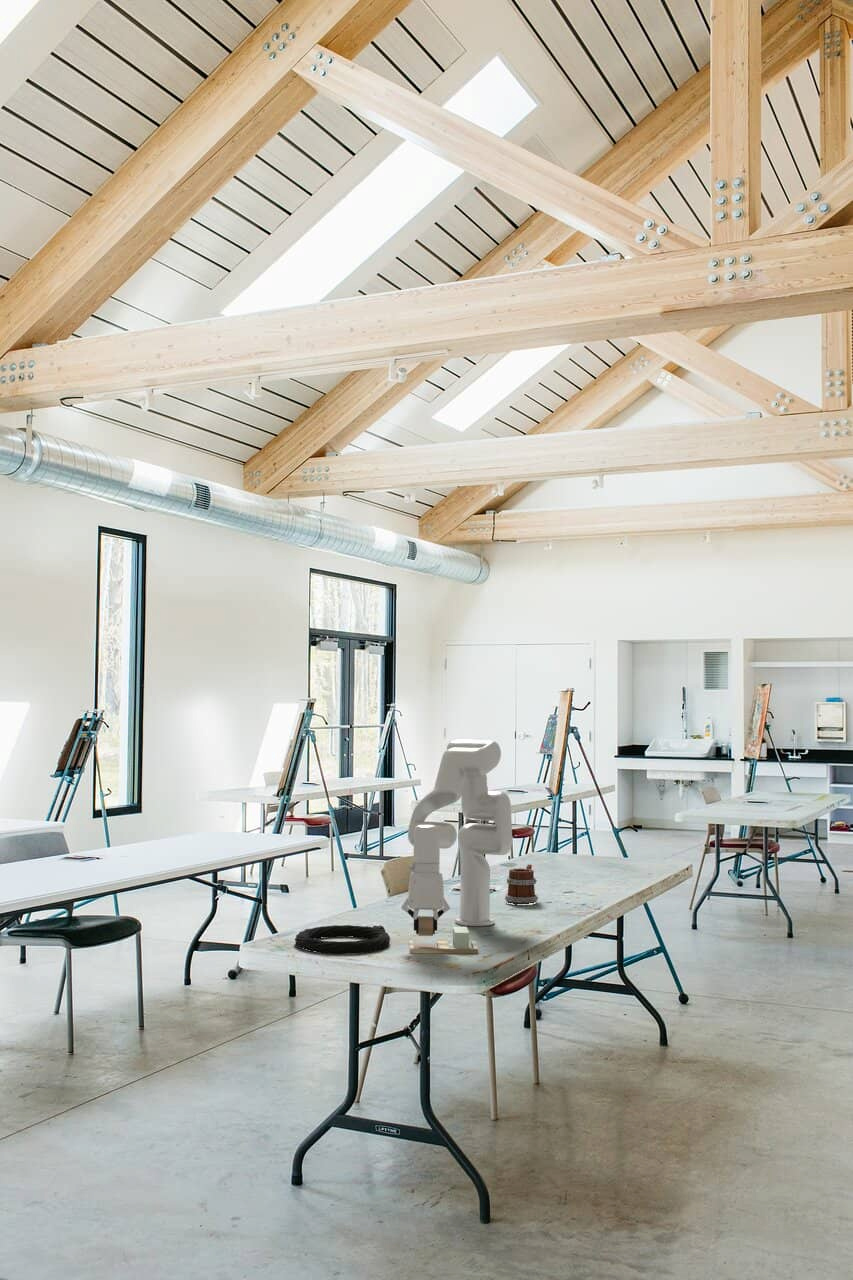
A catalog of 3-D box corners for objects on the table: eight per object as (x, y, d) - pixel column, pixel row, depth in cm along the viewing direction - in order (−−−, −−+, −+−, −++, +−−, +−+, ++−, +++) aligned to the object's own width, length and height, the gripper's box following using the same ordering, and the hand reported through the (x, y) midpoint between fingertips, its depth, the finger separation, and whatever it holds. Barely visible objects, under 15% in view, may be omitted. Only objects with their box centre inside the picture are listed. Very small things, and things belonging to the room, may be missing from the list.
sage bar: (452, 944, 320) (452, 926, 321) (466, 944, 320) (466, 926, 321) (454, 950, 311) (455, 932, 312) (469, 950, 312) (469, 932, 312)
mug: (498, 904, 390) (501, 861, 394) (512, 905, 403) (515, 863, 406) (529, 906, 385) (532, 863, 389) (543, 908, 398) (545, 865, 401)
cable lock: (274, 932, 318) (349, 919, 340) (274, 946, 318) (349, 931, 340) (341, 946, 300) (415, 931, 322) (341, 961, 300) (415, 944, 322)
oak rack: (409, 943, 321) (409, 939, 322) (474, 944, 322) (474, 939, 322) (410, 953, 308) (410, 948, 309) (477, 953, 309) (477, 949, 309)
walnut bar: (418, 933, 319) (418, 915, 320) (431, 933, 319) (432, 915, 320) (418, 935, 310) (419, 917, 311) (433, 935, 310) (433, 917, 311)
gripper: (397, 869, 313) (396, 935, 312) (456, 870, 314) (455, 936, 312) (397, 866, 321) (396, 930, 319) (454, 867, 321) (453, 931, 320)
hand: (425, 932), depth 316 cm, fingers closed on walnut bar, 4 cm apart
